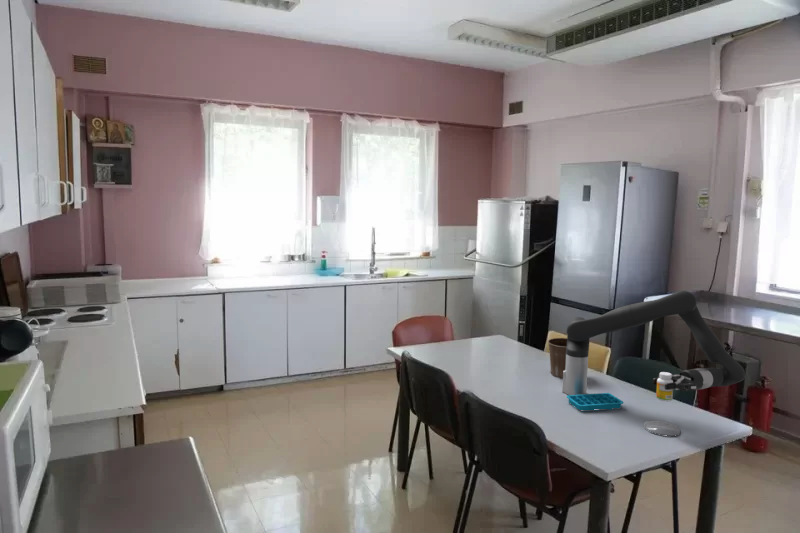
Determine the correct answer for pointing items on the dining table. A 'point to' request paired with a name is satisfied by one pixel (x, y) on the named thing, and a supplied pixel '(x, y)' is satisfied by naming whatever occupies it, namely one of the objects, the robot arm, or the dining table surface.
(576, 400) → the ice cube tray
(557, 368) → the plant pot
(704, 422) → the dining table surface
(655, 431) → the coaster
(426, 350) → the dining table surface
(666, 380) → the supplement bottle
